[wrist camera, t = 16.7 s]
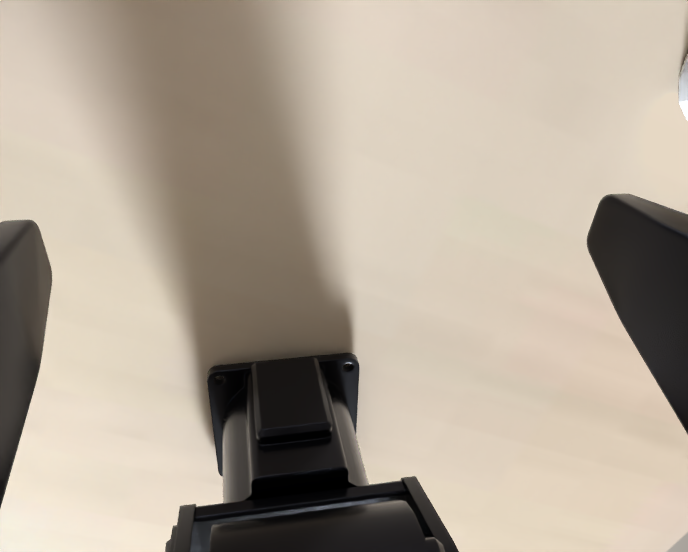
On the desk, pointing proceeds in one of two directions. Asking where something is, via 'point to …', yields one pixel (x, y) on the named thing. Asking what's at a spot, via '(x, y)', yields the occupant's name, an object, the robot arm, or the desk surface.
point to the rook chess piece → (684, 88)
